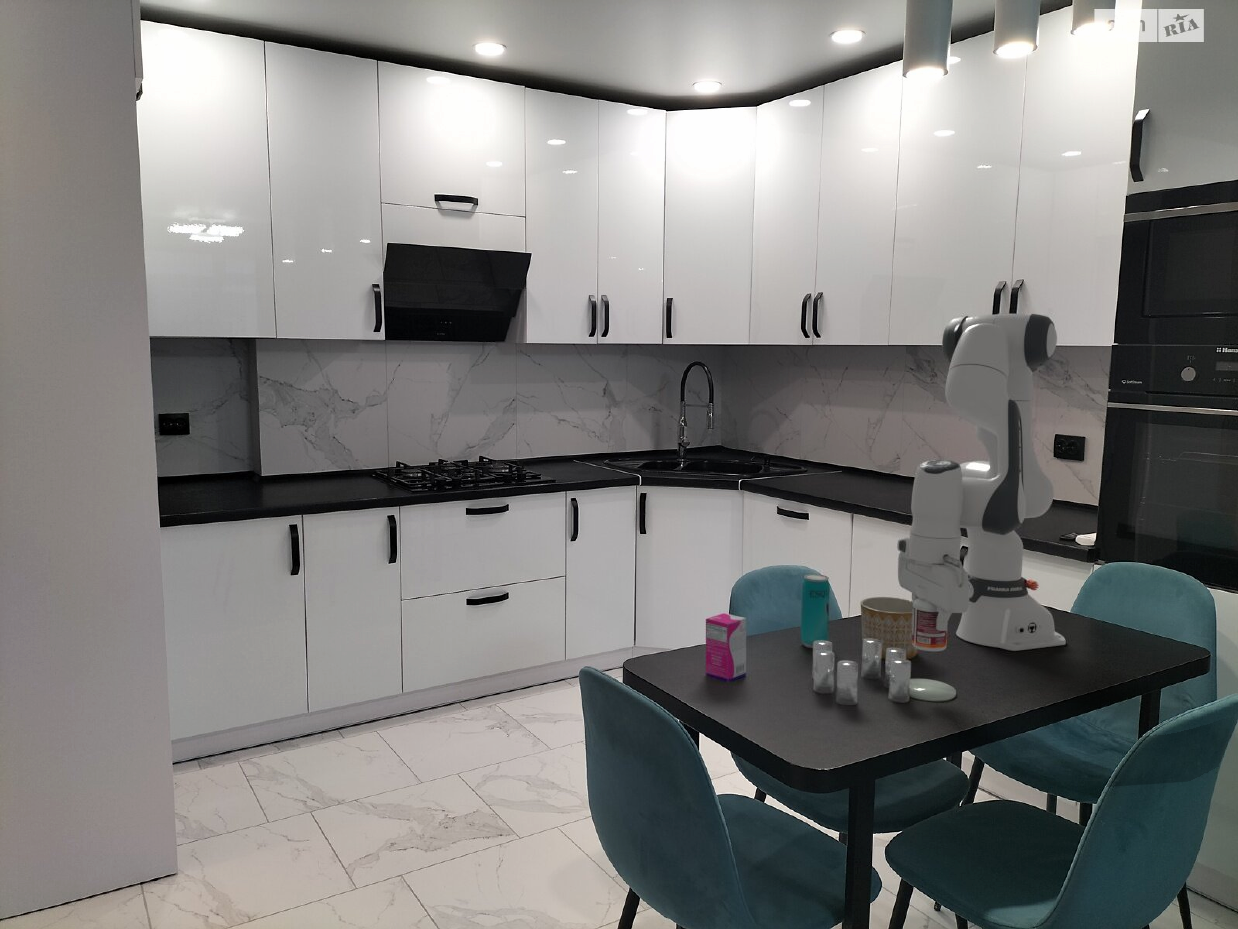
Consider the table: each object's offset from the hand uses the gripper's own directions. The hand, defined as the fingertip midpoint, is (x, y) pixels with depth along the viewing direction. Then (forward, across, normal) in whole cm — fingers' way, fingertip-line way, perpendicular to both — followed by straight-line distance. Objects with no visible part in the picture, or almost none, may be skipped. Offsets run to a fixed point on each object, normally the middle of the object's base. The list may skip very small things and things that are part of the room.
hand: (929, 623), depth 166 cm
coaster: (+13, 0, 0) cm, 13 cm away
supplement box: (+13, +13, +35) cm, 39 cm away
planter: (+13, +22, -3) cm, 26 cm away
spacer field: (+13, +3, +12) cm, 18 cm away
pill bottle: (+5, 0, 0) cm, 5 cm away
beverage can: (+13, +29, +11) cm, 34 cm away
